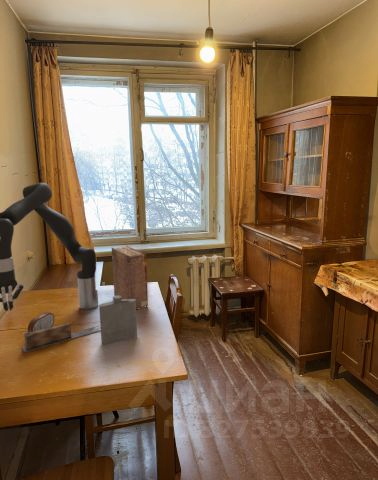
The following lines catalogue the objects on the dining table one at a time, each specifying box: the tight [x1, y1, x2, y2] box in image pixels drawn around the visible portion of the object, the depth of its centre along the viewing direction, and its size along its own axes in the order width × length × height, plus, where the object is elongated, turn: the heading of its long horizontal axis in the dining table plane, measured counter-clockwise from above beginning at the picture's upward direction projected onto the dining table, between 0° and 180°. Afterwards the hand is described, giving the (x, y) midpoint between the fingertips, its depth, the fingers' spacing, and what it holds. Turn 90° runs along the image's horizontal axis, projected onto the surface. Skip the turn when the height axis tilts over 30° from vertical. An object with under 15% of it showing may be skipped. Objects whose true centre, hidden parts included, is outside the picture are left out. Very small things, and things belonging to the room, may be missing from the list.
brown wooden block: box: [23, 322, 72, 350], centre depth 154 cm, size 18×4×6 cm, turn 125°
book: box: [111, 245, 149, 310], centre depth 197 cm, size 25×9×30 cm, turn 34°
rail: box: [21, 324, 101, 353], centre depth 159 cm, size 36×5×1 cm, turn 125°
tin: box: [27, 311, 55, 332], centre depth 164 cm, size 15×3×8 cm, turn 160°
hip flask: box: [98, 295, 138, 345], centre depth 155 cm, size 16×4×20 cm, turn 114°
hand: (8, 309), depth 143 cm, fingers closed
